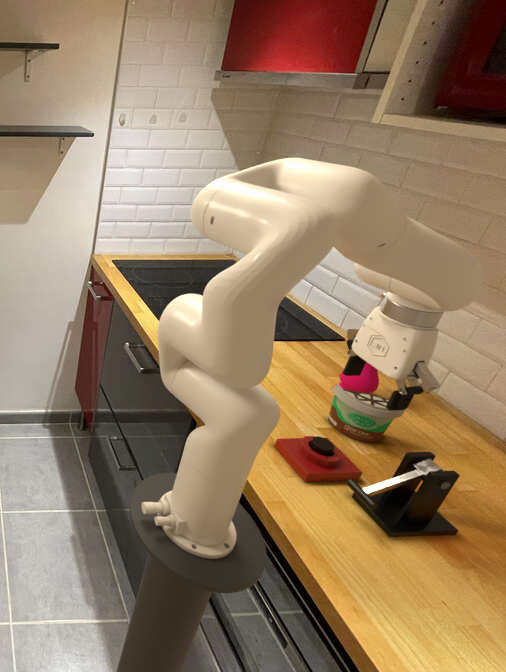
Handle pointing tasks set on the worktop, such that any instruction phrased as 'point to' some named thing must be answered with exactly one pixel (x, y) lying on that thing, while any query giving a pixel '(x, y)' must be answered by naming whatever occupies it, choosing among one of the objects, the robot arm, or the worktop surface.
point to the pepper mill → (361, 380)
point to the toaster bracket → (413, 502)
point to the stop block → (316, 461)
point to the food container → (360, 415)
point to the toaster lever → (393, 482)
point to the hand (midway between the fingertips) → (371, 391)
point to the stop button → (322, 446)
